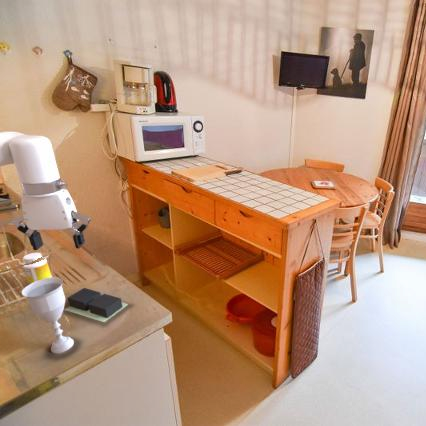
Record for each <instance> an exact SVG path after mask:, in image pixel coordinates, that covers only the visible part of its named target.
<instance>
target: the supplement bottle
mask: <svg viewBox="0 0 426 426" xmlns="http://www.w3.org/2000/svg"><path fill="white" fill-rule="evenodd" d="M41 257H42V258H43V256H42V253H41V252H31V253H28V254H26V255H24V256H23V261H24V262H23V263H22V265H24V264H26V263H30V262H32V261H35V260H37V259H38V258H41ZM22 269H23V272H24V275H25V278H26V281H27V283H28V285H30V284H31V283H33V282H36V281H38V280H41V279H45V278H51V277H53V276H52V273H51V270H50V266H49V264H48V261H47V258H45V259H44V260H41V261H39V262H36V263H33V264H29V265H24V266H22Z"/></svg>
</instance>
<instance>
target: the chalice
mask: <svg viewBox="0 0 426 426" xmlns="http://www.w3.org/2000/svg"><path fill="white" fill-rule="evenodd" d="M63 283H64V280H63V278H61V277H57V276H52V277H51V278H45V279H41V280H38V281H36V282H33V283H31V284H30V285H29V284H28V285H27V286H25V287H24V288H23V289H22V290H21V295H22V296H23V297H25V298H26V299H27V302H28V305H29V308H30V311H31V312H32V314H34V315H35V316H36V317H37V318H39V319H40V320H42V321H44V322H46V323H52V326H51V329H53V330H54V332H53V335H54V336H56V339H55V340H53V341H52V343H51V346H50V352H51V353H53V354H61V353H64V352H66V351H68V350H70V349H71V348H72V347H73V345H74V344H75V341H74V339H73V338H71V337H70V336H67V335H63V332H64V330H63V329H61V323H59V322H58V320H59V319H61V318H62V315H63V312H64V310H65V304H66V296H65V292H64V289H63Z"/></svg>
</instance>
